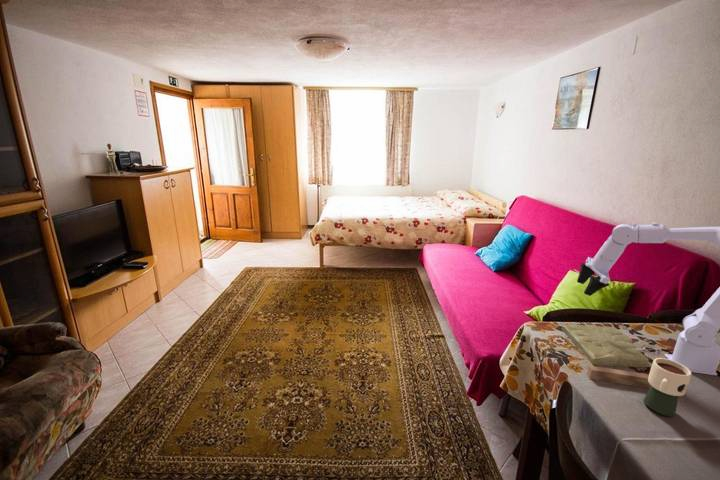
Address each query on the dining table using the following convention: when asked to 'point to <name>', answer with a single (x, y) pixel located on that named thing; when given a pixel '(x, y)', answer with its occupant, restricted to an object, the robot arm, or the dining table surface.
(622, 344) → the decorative tile
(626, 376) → the rail
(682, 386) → the character mug
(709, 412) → the dining table surface
